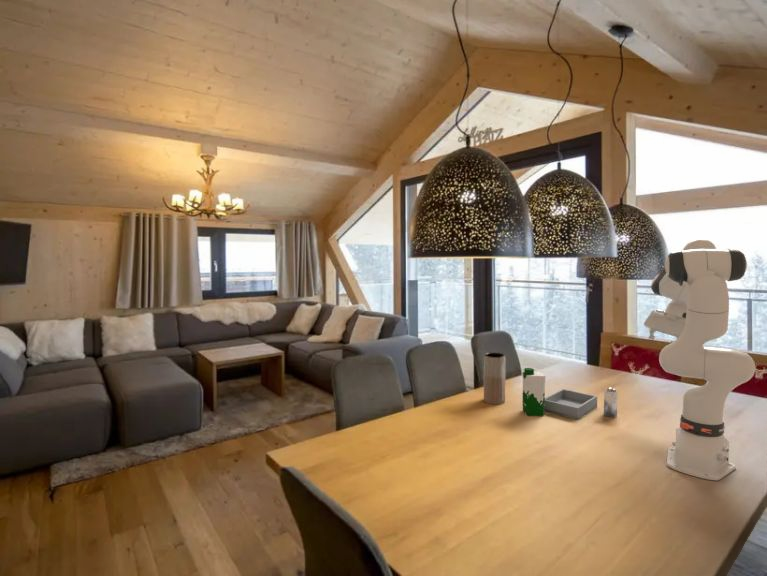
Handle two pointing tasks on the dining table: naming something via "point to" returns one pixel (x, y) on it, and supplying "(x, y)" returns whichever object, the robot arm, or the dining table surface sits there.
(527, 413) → the milk carton
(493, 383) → the planter
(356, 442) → the dining table surface
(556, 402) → the bin
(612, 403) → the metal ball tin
